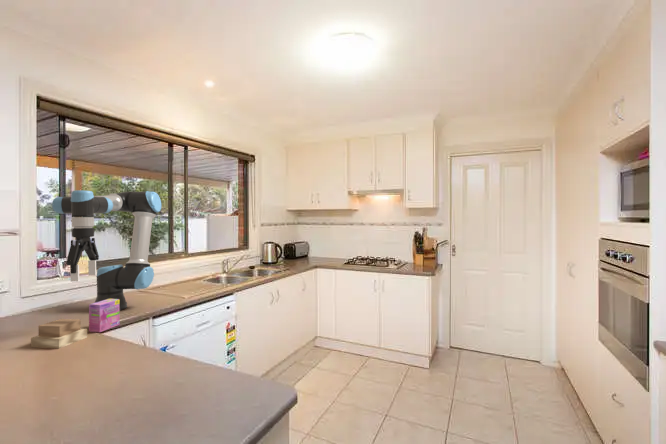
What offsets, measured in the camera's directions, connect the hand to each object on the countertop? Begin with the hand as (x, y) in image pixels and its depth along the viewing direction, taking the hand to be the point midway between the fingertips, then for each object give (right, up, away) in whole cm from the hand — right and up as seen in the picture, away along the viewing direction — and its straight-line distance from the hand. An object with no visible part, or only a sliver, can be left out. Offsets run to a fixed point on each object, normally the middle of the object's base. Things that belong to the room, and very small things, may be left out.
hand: (84, 278), depth 140 cm
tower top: (-2, -20, -10) cm, 22 cm away
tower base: (-2, -24, -10) cm, 26 cm away
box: (+4, -23, +6) cm, 24 cm away
